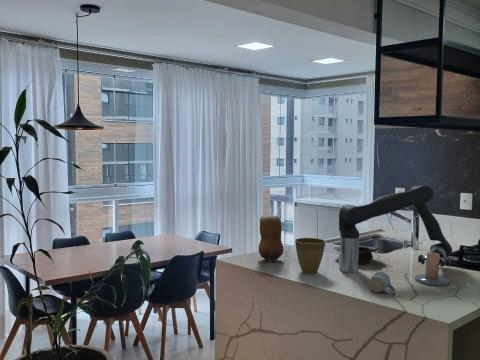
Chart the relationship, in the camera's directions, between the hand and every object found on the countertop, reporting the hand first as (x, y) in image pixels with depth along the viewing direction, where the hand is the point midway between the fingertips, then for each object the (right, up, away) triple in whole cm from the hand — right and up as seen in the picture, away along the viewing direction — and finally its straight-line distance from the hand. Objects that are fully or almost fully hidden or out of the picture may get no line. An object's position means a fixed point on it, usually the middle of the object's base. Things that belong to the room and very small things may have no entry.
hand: (432, 263), depth 219 cm
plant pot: (-55, -7, +15) cm, 58 cm away
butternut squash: (-73, -5, +36) cm, 82 cm away
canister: (+1, -8, +3) cm, 8 cm away
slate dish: (+1, -9, +3) cm, 9 cm away
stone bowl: (-27, -6, +39) cm, 48 cm away
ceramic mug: (-27, -10, -13) cm, 32 cm away
